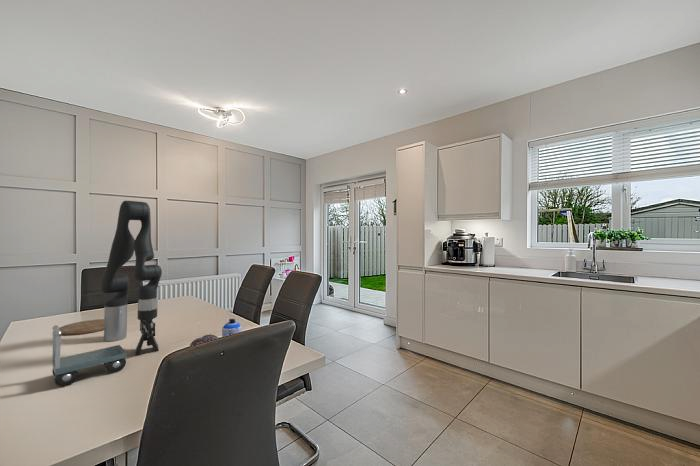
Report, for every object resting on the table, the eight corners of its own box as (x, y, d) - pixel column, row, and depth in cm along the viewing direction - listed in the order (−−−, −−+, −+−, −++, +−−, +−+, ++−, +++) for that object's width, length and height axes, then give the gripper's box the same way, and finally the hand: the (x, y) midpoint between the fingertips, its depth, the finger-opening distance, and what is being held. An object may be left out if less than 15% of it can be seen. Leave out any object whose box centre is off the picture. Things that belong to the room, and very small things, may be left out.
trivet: (122, 327, 169) (122, 323, 169) (64, 339, 148) (64, 336, 148) (106, 319, 183) (106, 316, 183) (50, 330, 162) (50, 327, 162)
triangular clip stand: (134, 355, 129) (135, 328, 129) (135, 351, 134) (135, 325, 134) (158, 351, 134) (159, 325, 134) (158, 347, 139) (158, 322, 139)
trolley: (51, 378, 108) (52, 325, 108) (119, 361, 123) (120, 314, 124) (54, 390, 100) (55, 333, 100) (126, 370, 115) (127, 320, 116)
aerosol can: (216, 370, 116) (217, 320, 116) (231, 362, 124) (231, 315, 124) (231, 373, 113) (232, 322, 114) (245, 365, 121) (246, 317, 121)
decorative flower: (172, 345, 117) (203, 324, 130) (173, 367, 121) (203, 344, 134) (199, 360, 112) (228, 337, 126) (200, 382, 117) (228, 357, 130)
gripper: (133, 307, 136) (133, 341, 136) (142, 312, 127) (141, 349, 127) (152, 304, 142) (151, 337, 142) (162, 309, 133) (161, 344, 132)
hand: (147, 343), depth 134 cm, fingers open, 8 cm apart
